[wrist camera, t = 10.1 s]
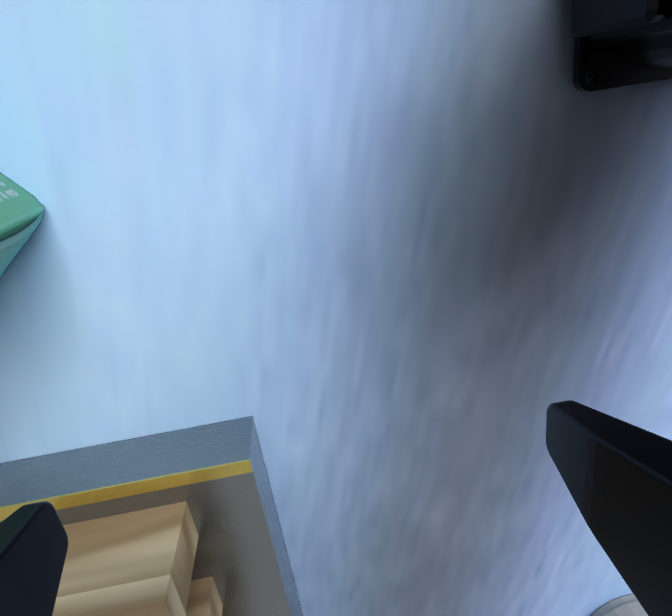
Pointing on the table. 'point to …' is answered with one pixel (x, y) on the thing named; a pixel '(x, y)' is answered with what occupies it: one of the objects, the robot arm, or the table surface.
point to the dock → (174, 487)
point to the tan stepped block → (135, 567)
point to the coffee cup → (622, 607)
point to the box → (16, 219)
